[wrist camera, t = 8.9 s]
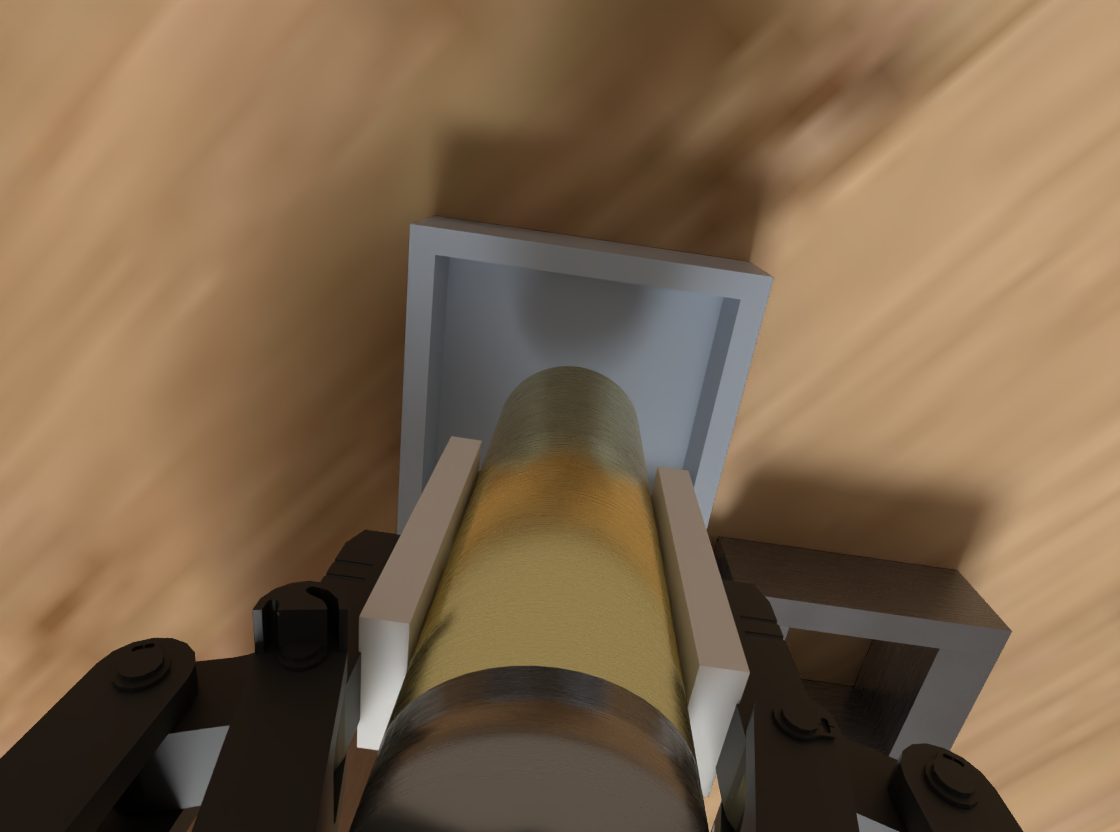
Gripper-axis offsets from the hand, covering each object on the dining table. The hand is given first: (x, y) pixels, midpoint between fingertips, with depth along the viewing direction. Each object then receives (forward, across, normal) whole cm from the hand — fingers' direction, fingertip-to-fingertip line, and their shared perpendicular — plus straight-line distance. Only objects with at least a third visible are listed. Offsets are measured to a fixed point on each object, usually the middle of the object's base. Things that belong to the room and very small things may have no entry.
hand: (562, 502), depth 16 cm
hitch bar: (+9, +8, -9) cm, 15 cm away
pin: (+4, 0, 0) cm, 4 cm away
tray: (+9, 0, 0) cm, 9 cm away
